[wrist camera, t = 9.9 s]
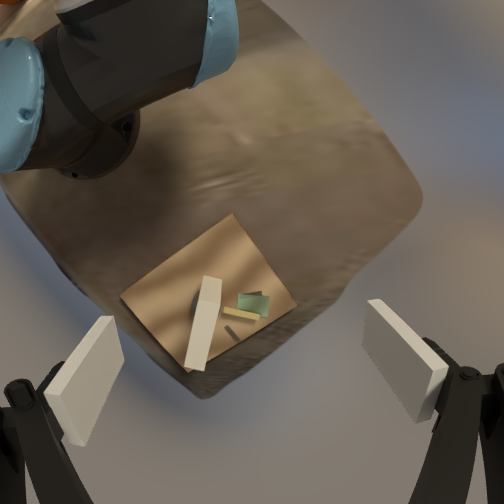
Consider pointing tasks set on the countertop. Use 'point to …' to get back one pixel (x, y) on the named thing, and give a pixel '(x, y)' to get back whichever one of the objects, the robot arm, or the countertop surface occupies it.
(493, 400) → the robot arm
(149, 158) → the countertop surface
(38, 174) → the countertop surface
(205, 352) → the cream piece
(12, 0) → the apple
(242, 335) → the light wood flat board
